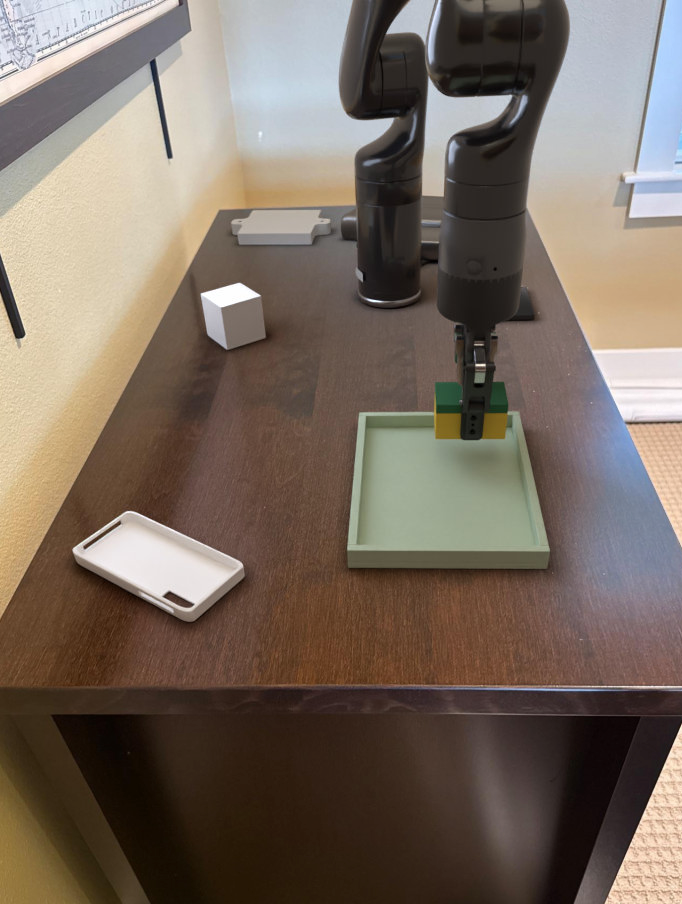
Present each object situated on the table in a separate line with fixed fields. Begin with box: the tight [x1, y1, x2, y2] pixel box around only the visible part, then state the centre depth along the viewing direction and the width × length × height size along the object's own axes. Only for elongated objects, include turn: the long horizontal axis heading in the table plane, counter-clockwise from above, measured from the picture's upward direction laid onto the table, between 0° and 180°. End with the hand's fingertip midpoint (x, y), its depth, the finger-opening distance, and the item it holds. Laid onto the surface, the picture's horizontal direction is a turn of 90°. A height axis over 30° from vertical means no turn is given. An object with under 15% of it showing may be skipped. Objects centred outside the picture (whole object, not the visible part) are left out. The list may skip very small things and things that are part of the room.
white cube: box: [200, 282, 267, 351], centre depth 105 cm, size 6×6×6 cm
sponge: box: [433, 381, 509, 439], centre depth 78 cm, size 5×7×4 cm, turn 87°
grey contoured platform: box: [340, 194, 444, 261], centre depth 133 cm, size 28×5×28 cm
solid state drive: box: [508, 286, 536, 321], centre depth 111 cm, size 7×10×1 cm
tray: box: [346, 410, 551, 570], centre depth 77 cm, size 24×18×2 cm
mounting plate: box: [230, 209, 332, 246], centre depth 140 cm, size 18×13×2 cm
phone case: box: [72, 510, 246, 623], centre depth 70 cm, size 7×1×15 cm
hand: (469, 424), depth 80 cm, fingers closed on sponge, 4 cm apart
